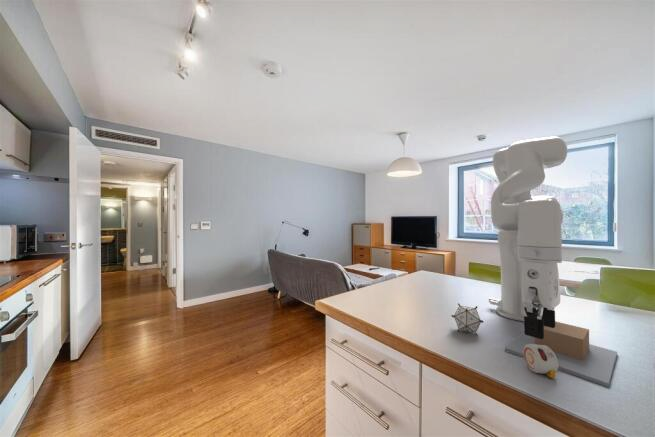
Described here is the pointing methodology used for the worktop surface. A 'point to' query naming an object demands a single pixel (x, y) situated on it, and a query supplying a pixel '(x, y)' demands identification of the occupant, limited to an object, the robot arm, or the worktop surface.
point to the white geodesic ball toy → (467, 319)
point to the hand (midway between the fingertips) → (540, 331)
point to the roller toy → (541, 359)
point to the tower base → (576, 366)
